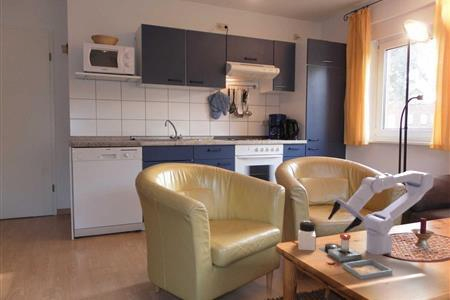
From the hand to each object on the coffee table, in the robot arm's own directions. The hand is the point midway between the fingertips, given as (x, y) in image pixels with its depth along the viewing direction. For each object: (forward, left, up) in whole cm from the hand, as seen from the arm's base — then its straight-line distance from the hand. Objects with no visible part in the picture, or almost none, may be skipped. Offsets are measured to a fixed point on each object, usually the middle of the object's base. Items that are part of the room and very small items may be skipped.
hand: (336, 225), depth 133 cm
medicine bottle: (+5, -14, -15) cm, 21 cm away
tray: (-4, +13, -14) cm, 20 cm away
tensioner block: (-4, -3, -14) cm, 15 cm away
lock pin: (-4, 0, -13) cm, 14 cm away
